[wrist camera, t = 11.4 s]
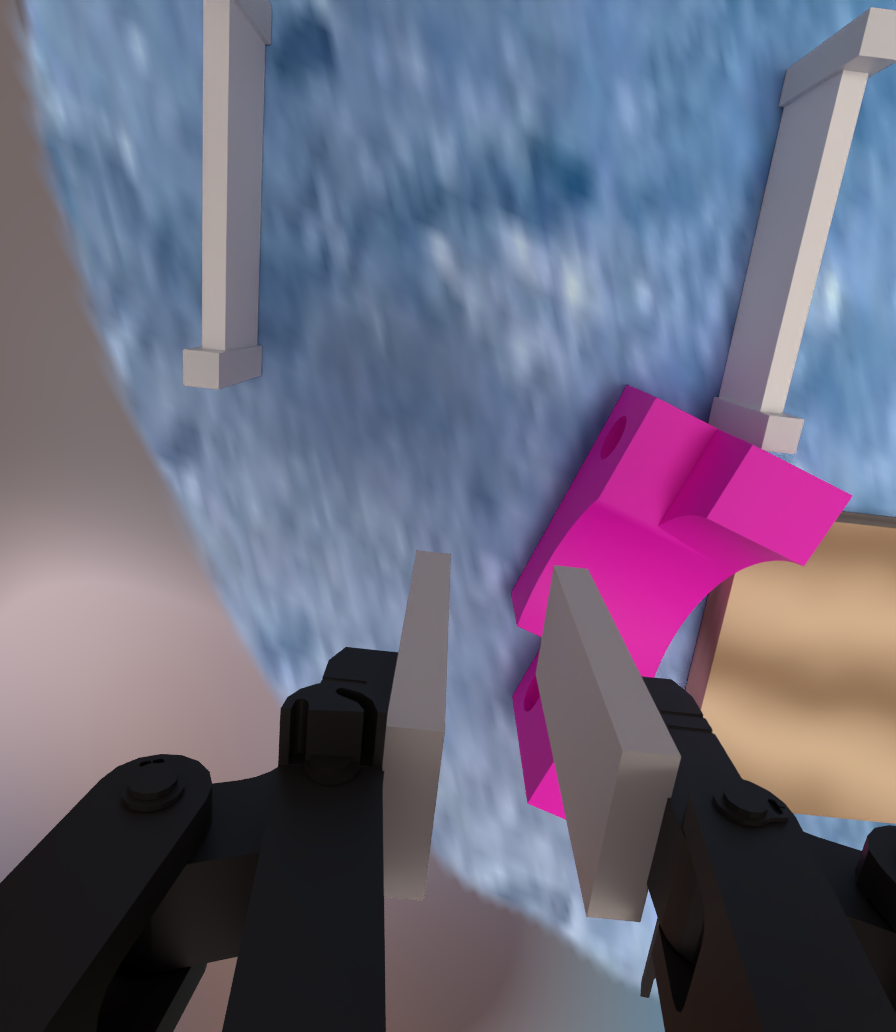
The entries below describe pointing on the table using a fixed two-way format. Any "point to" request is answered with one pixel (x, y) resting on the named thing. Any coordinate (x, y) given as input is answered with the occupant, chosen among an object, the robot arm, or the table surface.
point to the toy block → (660, 540)
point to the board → (809, 673)
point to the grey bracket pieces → (772, 266)
